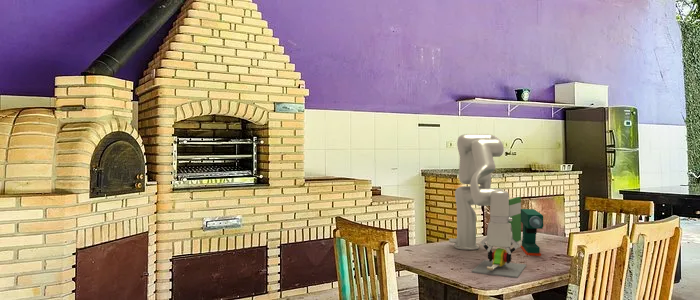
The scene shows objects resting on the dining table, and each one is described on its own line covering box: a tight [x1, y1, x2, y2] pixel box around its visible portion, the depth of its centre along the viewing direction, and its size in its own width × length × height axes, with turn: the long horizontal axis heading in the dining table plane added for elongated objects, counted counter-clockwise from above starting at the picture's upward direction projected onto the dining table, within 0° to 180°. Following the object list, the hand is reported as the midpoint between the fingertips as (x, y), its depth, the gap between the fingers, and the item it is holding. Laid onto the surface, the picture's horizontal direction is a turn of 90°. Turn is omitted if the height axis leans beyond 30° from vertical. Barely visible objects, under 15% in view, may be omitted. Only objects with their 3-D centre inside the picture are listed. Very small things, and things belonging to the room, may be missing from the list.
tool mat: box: [471, 259, 527, 279], centre depth 199 cm, size 18×22×1 cm
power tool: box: [520, 208, 544, 257], centre depth 226 cm, size 32×7×20 cm, turn 168°
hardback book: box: [509, 196, 522, 243], centre depth 258 cm, size 18×7×24 cm, turn 141°
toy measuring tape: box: [487, 247, 508, 270], centre depth 198 cm, size 6×19×7 cm, turn 143°
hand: (499, 261), depth 199 cm, fingers closed on toy measuring tape, 6 cm apart
